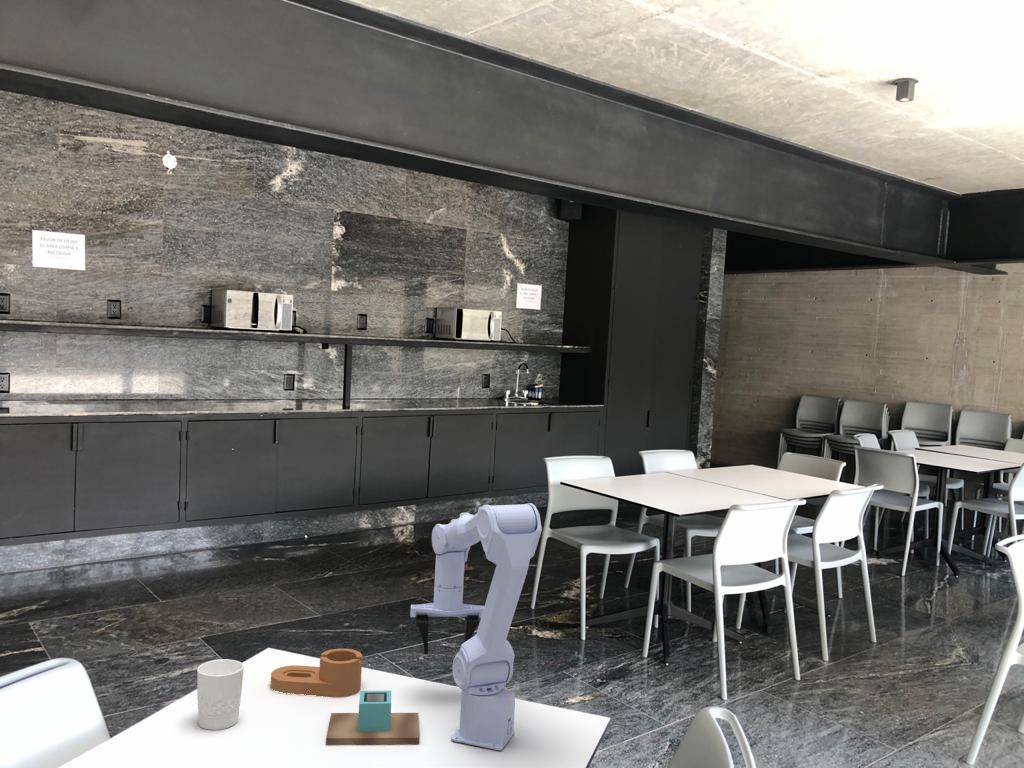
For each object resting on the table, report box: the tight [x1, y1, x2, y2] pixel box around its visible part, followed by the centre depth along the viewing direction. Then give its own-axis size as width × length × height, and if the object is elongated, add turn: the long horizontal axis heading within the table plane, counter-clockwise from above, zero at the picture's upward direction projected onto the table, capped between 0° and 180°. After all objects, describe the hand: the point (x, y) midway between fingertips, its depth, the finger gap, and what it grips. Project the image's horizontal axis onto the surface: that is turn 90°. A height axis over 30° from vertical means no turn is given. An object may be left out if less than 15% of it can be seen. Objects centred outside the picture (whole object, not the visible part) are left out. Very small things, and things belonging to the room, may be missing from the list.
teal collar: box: [358, 690, 392, 732], centre depth 147 cm, size 6×6×5 cm
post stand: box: [325, 694, 420, 746], centre depth 147 cm, size 16×10×6 cm, turn 97°
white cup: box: [196, 658, 245, 731], centre depth 147 cm, size 8×8×10 cm
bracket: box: [270, 648, 363, 698], centre depth 165 cm, size 18×8×7 cm, turn 88°
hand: (445, 652), depth 162 cm, fingers open, 7 cm apart
